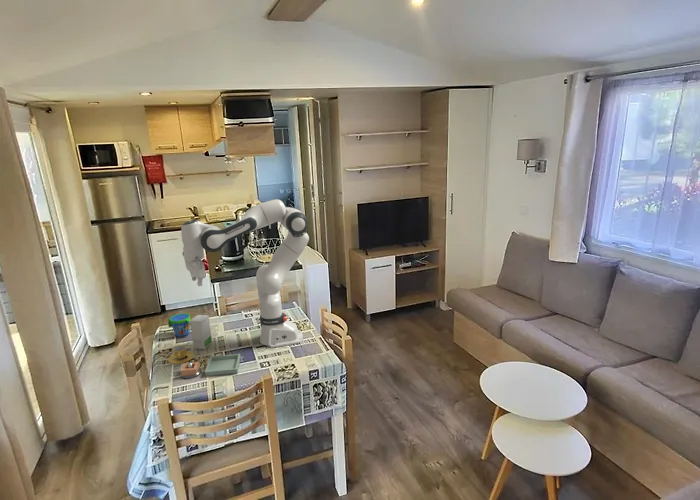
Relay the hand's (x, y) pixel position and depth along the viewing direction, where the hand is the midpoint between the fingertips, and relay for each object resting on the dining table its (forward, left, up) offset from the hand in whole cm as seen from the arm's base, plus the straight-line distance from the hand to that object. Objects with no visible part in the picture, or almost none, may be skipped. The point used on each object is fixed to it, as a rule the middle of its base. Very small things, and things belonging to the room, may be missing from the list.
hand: (197, 282), depth 203 cm
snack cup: (+17, -25, -37) cm, 48 cm away
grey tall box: (+3, -9, -37) cm, 39 cm away
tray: (-11, +15, -37) cm, 42 cm away
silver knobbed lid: (+3, +18, -37) cm, 42 cm away
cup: (+11, +2, -38) cm, 39 cm away
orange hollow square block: (+3, +18, -36) cm, 41 cm away
